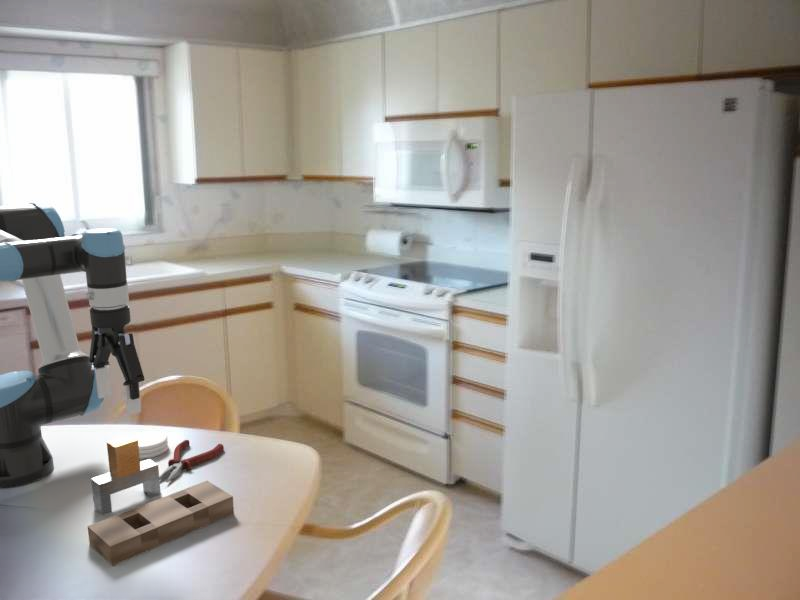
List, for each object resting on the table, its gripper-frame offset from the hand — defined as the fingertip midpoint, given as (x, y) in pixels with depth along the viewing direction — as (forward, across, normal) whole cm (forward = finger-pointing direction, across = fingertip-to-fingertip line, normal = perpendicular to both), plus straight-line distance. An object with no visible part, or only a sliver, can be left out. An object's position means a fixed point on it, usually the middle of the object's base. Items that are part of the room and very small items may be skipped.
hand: (119, 404), depth 152 cm
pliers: (+23, -9, +18) cm, 30 cm away
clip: (+22, 0, 0) cm, 22 cm away
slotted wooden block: (+22, +16, 0) cm, 27 cm away
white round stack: (+22, -21, +15) cm, 34 cm away
